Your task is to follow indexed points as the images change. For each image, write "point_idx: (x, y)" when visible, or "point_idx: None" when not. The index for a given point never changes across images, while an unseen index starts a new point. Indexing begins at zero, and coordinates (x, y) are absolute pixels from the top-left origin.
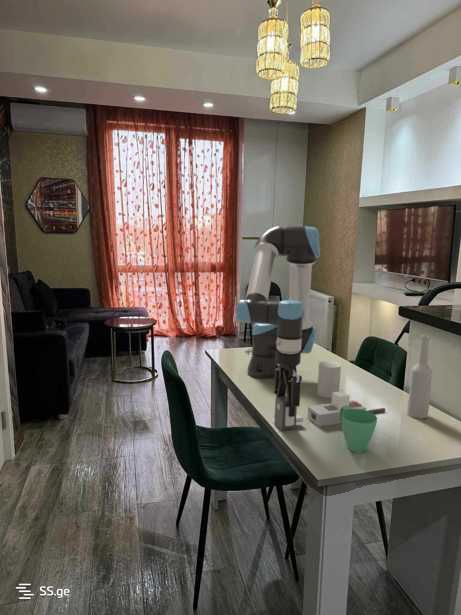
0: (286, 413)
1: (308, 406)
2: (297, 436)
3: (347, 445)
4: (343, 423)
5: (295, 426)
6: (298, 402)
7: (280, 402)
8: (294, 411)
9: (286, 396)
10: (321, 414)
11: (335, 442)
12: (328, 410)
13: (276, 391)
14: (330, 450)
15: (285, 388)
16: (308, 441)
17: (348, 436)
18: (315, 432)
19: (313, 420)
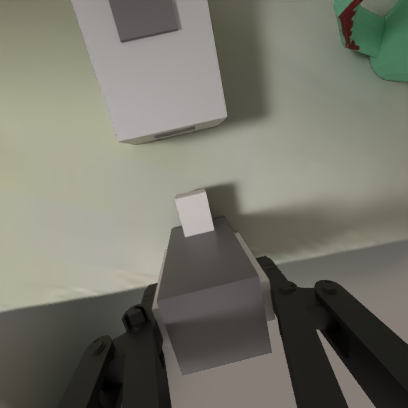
0: None
1: (117, 139)
2: (274, 223)
3: (398, 80)
4: None
5: (225, 219)
6: (356, 306)
7: (243, 353)
8: (279, 270)
9: (172, 320)
10: (223, 103)
11: (339, 110)
12: (175, 35)
13: (121, 386)
14: (378, 149)
15: (158, 390)
16: (311, 199)
17: None
18: (259, 155)
19: (178, 133)
